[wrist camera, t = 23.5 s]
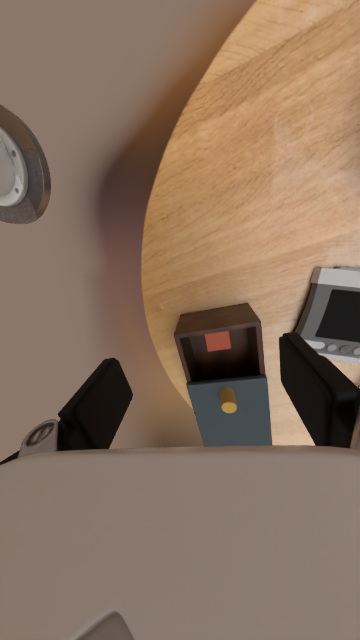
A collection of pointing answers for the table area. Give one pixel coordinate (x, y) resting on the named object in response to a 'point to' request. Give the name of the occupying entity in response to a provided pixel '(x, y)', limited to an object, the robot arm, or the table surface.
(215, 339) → the block
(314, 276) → the alarm clock
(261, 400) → the lid
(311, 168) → the table surface
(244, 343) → the box
